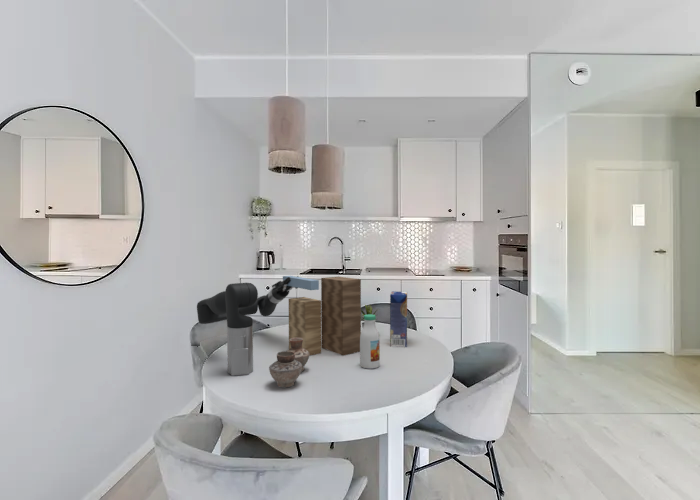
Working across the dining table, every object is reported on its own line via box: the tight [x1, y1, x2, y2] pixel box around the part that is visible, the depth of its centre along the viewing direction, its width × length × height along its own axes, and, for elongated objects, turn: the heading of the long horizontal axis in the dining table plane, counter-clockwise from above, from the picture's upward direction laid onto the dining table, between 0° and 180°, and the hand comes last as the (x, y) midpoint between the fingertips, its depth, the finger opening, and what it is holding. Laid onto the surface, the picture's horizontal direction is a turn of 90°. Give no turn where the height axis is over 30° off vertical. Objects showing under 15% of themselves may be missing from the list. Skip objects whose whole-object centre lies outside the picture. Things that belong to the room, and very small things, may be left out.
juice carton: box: [389, 291, 408, 348], centre depth 185 cm, size 12×8×24 cm, turn 170°
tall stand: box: [320, 276, 362, 356], centre depth 175 cm, size 16×10×32 cm, turn 39°
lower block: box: [288, 296, 322, 357], centre depth 173 cm, size 14×8×23 cm, turn 39°
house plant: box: [361, 304, 380, 329], centre depth 202 cm, size 14×14×16 cm
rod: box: [282, 275, 320, 291], centre depth 175 cm, size 24×4×4 cm, turn 39°
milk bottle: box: [359, 313, 381, 370], centre depth 152 cm, size 8×8×20 cm
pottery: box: [268, 338, 310, 388], centre depth 140 cm, size 11×25×12 cm, turn 174°
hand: (294, 278), depth 179 cm, fingers closed on rod, 4 cm apart
